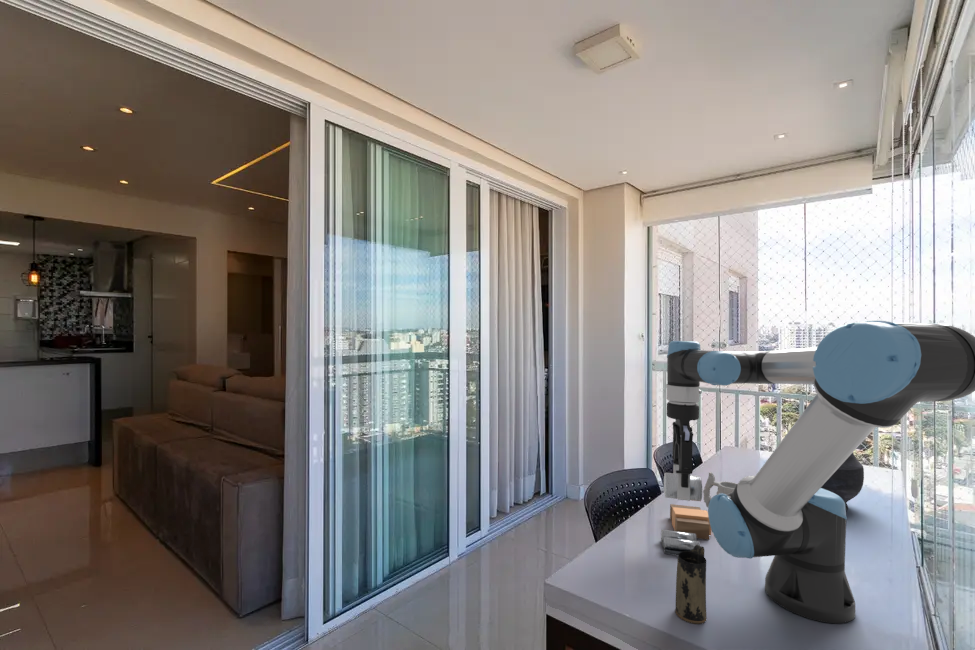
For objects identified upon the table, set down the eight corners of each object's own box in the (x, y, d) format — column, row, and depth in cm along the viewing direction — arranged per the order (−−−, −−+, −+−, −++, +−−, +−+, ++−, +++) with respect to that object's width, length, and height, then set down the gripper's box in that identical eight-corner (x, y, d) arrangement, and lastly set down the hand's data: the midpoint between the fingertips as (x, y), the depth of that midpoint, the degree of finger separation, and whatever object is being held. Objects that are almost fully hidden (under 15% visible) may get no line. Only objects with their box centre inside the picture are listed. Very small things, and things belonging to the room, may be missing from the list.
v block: (694, 545, 117) (694, 531, 117) (700, 558, 110) (700, 544, 110) (661, 540, 119) (661, 527, 119) (664, 553, 112) (665, 539, 112)
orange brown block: (710, 536, 123) (711, 517, 123) (675, 532, 125) (675, 513, 125) (706, 528, 128) (706, 510, 128) (671, 524, 130) (672, 507, 130)
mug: (736, 526, 129) (737, 483, 129) (696, 512, 139) (697, 472, 139) (749, 520, 134) (750, 479, 134) (709, 506, 143) (710, 468, 143)
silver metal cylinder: (696, 495, 117) (697, 472, 117) (701, 505, 111) (702, 481, 111) (663, 492, 119) (664, 469, 119) (666, 501, 113) (667, 477, 113)
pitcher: (809, 511, 141) (811, 414, 141) (783, 489, 161) (785, 403, 161) (875, 518, 137) (877, 418, 137) (840, 494, 157) (842, 406, 157)
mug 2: (700, 628, 84) (701, 563, 84) (670, 615, 88) (671, 552, 88) (714, 610, 90) (715, 548, 90) (685, 598, 94) (687, 539, 94)
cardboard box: (709, 539, 121) (709, 524, 121) (676, 535, 122) (677, 520, 123) (699, 521, 132) (699, 507, 132) (669, 517, 134) (670, 504, 134)
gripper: (707, 409, 105) (705, 511, 105) (691, 398, 123) (690, 484, 123) (672, 407, 107) (670, 507, 107) (661, 396, 125) (660, 481, 125)
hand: (681, 494), depth 115 cm, fingers closed on silver metal cylinder, 6 cm apart
